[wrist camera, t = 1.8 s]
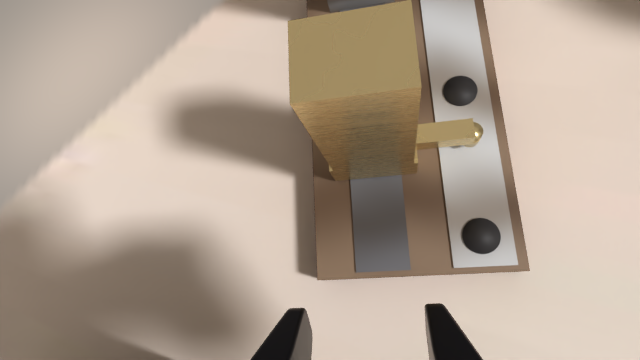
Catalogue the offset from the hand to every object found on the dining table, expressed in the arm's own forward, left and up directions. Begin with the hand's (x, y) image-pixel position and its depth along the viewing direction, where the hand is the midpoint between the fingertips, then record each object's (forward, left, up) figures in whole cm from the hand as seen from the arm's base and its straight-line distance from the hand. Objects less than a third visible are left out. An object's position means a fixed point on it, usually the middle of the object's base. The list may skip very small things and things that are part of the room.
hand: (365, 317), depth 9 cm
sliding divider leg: (+8, +2, -11) cm, 13 cm away
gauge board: (+10, +4, -13) cm, 17 cm away
